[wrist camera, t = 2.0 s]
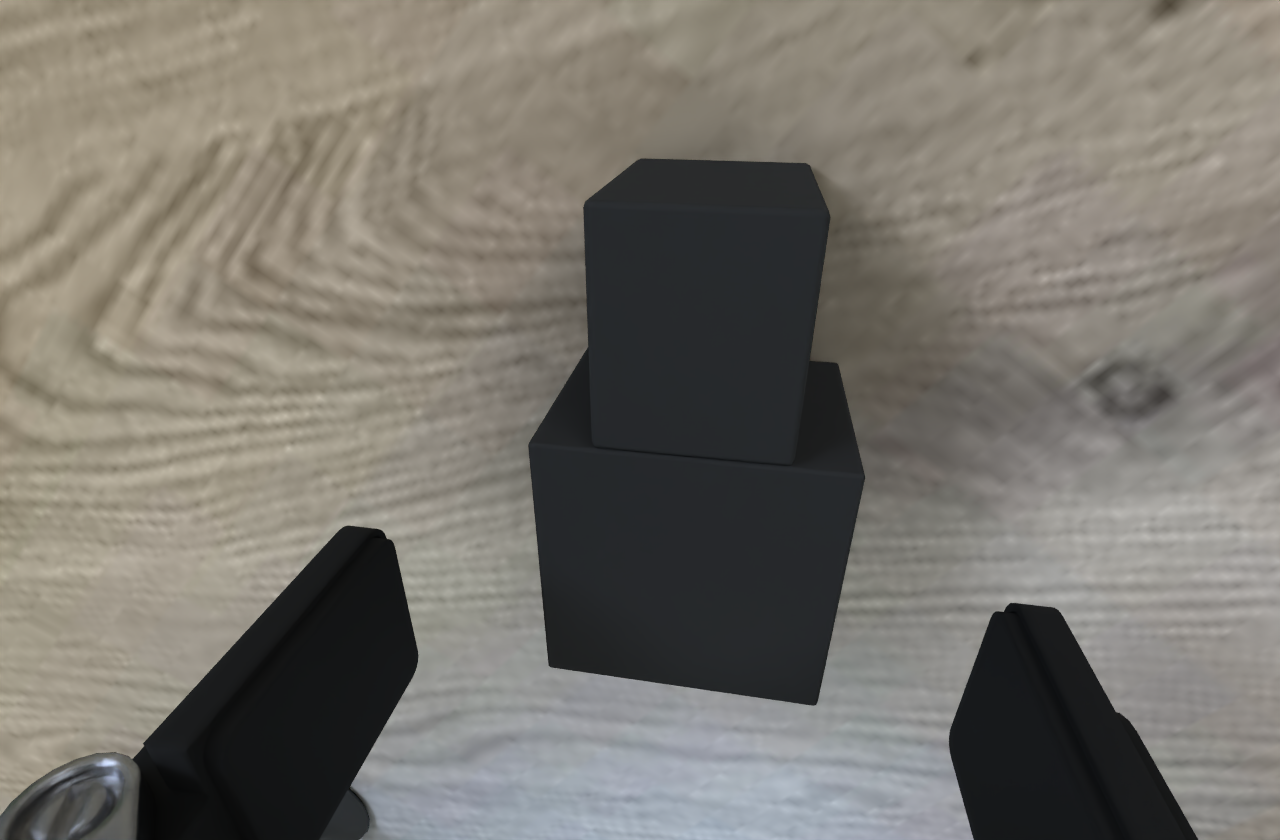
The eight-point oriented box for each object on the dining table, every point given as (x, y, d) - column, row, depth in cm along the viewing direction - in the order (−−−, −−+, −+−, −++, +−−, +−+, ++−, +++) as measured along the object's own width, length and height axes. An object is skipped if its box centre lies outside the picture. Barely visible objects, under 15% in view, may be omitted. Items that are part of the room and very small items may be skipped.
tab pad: (805, 559, 15) (817, 707, 12) (595, 534, 16) (547, 668, 12) (872, 164, 11) (922, 213, 7) (581, 156, 12) (503, 196, 8)
